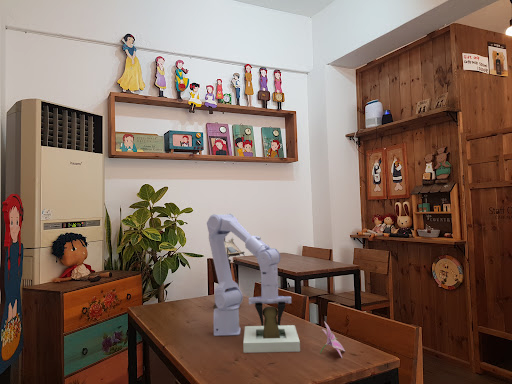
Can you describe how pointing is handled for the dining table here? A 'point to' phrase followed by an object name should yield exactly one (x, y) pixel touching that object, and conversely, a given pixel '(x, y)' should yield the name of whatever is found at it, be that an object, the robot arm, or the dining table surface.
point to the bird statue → (231, 254)
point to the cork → (270, 323)
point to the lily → (332, 340)
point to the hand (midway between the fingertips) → (270, 324)
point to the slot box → (271, 340)
